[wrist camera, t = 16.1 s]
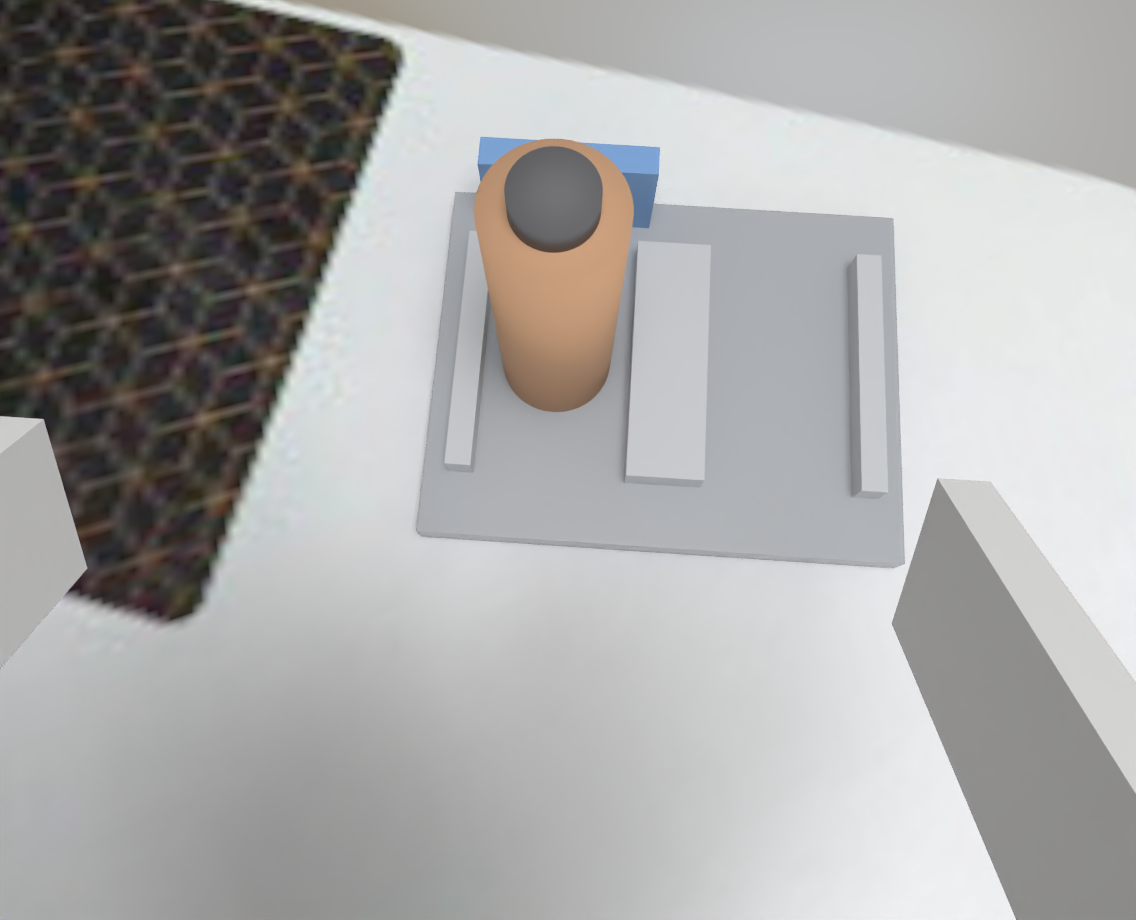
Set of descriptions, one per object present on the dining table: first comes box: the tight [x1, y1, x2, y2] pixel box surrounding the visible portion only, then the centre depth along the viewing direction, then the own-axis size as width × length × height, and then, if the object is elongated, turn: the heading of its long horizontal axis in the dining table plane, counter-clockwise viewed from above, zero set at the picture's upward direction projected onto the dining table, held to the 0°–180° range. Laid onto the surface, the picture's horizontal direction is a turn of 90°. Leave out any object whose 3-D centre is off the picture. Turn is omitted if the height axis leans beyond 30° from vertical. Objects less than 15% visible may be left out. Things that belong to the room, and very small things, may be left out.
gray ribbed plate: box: [417, 137, 905, 568], centre depth 34 cm, size 15×19×5 cm
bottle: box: [474, 139, 634, 412], centre depth 29 cm, size 4×4×13 cm
